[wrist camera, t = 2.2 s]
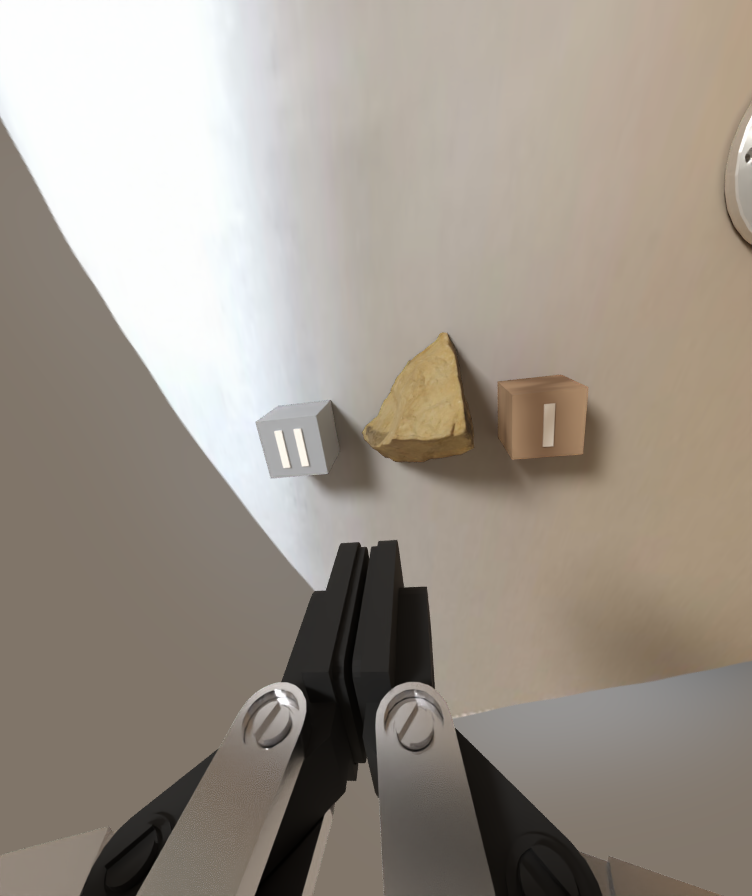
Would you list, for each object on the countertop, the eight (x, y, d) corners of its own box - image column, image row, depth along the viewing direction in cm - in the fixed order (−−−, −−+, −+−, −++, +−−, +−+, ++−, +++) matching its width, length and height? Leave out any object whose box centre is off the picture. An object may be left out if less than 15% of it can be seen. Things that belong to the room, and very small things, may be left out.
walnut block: (560, 374, 29) (589, 387, 24) (557, 433, 30) (583, 456, 26) (497, 381, 29) (512, 395, 25) (497, 438, 31) (512, 462, 26)
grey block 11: (330, 399, 32) (315, 416, 27) (340, 452, 33) (327, 476, 29) (278, 405, 32) (254, 422, 28) (290, 456, 34) (270, 480, 29)
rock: (374, 488, 32) (487, 467, 28) (326, 474, 24) (473, 443, 21) (362, 381, 35) (462, 350, 31) (316, 338, 27) (442, 291, 24)
